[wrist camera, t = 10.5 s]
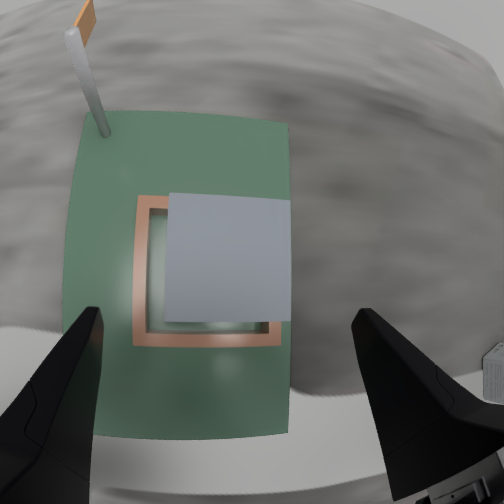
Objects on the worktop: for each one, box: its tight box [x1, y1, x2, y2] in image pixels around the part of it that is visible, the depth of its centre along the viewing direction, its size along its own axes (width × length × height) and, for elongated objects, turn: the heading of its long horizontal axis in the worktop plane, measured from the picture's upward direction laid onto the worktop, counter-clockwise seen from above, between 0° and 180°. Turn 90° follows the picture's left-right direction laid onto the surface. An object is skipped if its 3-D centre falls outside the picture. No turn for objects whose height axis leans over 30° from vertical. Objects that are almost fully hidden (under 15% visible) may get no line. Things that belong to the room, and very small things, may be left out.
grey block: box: [165, 193, 291, 322], centre depth 16 cm, size 5×5×10 cm
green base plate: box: [63, 0, 291, 440], centre depth 16 cm, size 25×16×11 cm, turn 179°
